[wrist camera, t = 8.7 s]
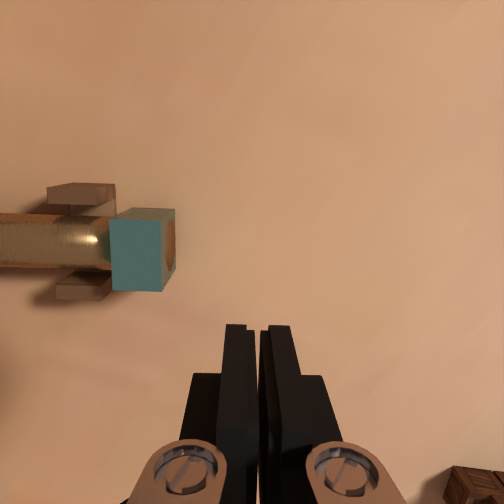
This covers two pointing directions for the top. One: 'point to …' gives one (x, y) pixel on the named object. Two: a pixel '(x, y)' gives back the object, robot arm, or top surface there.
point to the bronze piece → (95, 245)
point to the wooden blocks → (474, 486)
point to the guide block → (85, 204)
